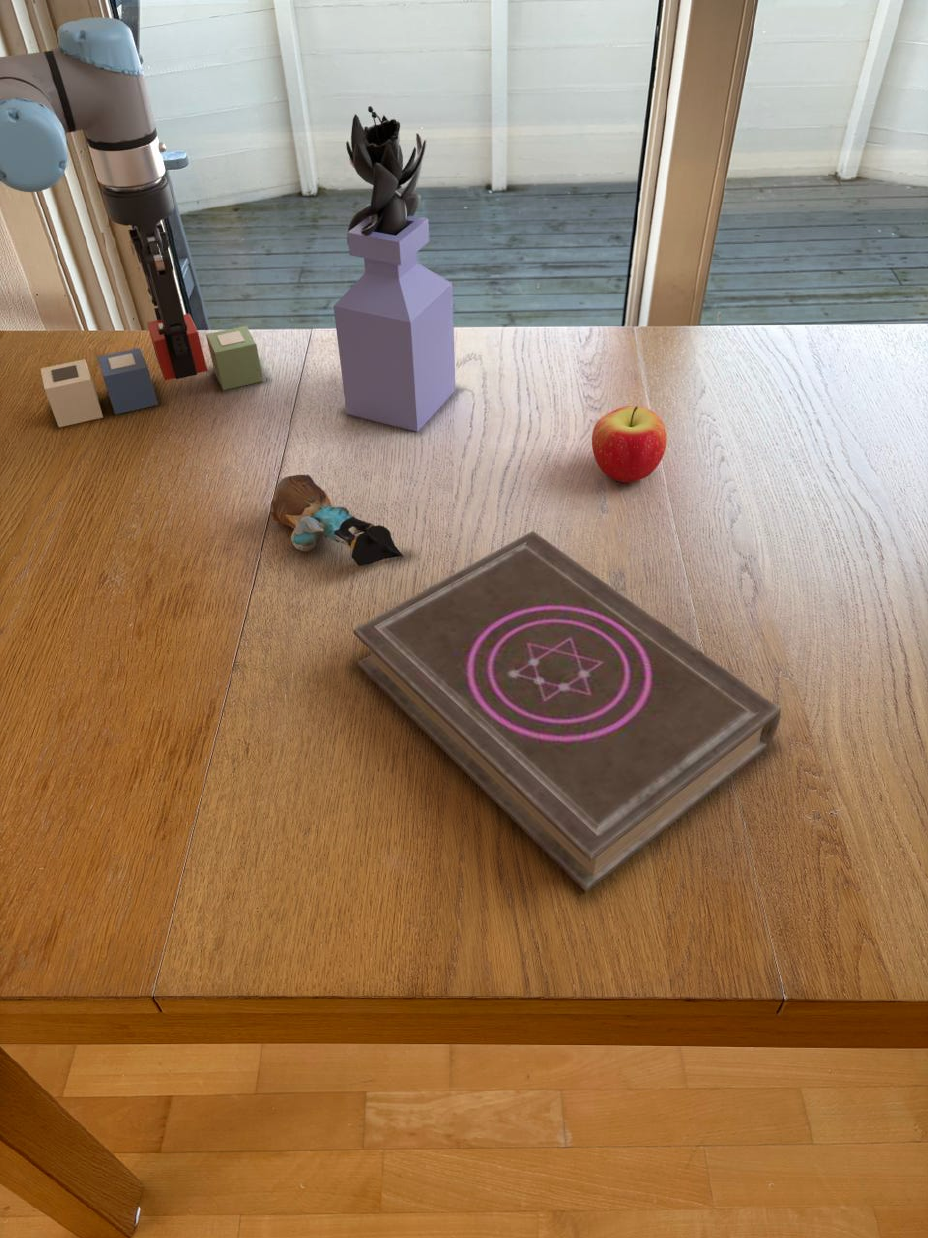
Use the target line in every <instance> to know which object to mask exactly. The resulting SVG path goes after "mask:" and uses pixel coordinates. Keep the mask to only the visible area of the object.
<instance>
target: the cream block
mask: <svg viewBox="0 0 928 1238" xmlns="http://www.w3.org/2000/svg"><path fill="white" fill-rule="evenodd" d="M40 373H41V378H42V384H43V390H44V392H45V395H46V398H47V400H48V403H49V406H50V408H51V410H52V413H53V416H54V419H55V421H56V424H57V427H58V428H63V427H68V426H72V425H76V424H81V423H84V422H89V421H94V420H99V419H102V418H104V415H103V412H102V408H101V404H100V399H99V396H98V393H97V391H96V388H95V385H94V382H93V379H92V376H91V373H90V370H89V367H88V364H87V361H86V359H80V360H79V359H78V360H74V361H69V362H64V363H60V364H56V365H51V366H46V367H45V366H44V367H41V368H40Z"/></svg>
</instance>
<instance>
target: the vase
mask: <svg viewBox="0 0 928 1238" xmlns="http://www.w3.org/2000/svg"><path fill="white" fill-rule="evenodd" d="M367 108H368V109H367V111H368V113H370V114H371V118H373V122H374V124H373V125H371V126H369V127H368V126H367V125H366V126H363V125H362V123H361V120H360V117H359V116H358V115H357V114H356V113H355V114H354V116H353V118H352V124H351V130H350V131H351V132H350V133H351V134H350V143H349V140H347V141H346V143H345V147H346V151H347V154H348V156H349V157H348V158H349V159H348V161H349V164H350V165H351V167H352V168H353V169H354V170H355V172H356V174H357V175H358V176H359V177H360V178H361V179H362V180H363V181H364V182H366V183H368V184H370V185H372V193H371V194H372V195H371V200H370V203H369V204H368V205H366V206H364V207H362V208H361V209H359V210H357V212H355V214H354V215H353V216H352V218H351V220H350V222H349V224H348V226H347V227H348V229H347V233H346V238H347V239H346V243H347V245H348V251H349V252H348V253H349V256H351V257H357V258H362V259H363V263H364V271H365V272H364V273H363V274H362V275H361V277H359V279H358V280H356V281H355V283H354V284H353V285H352V286H351V287H350V288H349V289H348V290H347V291H346V292H345V293H344V294H343V295H342V296H341V298H340V299H338V301H336V303H335V304H334V305H333V314H334V322H335V323H334V324H335V328H336V337H337V345H338V347H337V348H338V354H339V360H340V361H339V362H340V369H341V378H342V384H343V395H344V402H345V403H344V404H345V410H346V411H345V412H346V415H349V416H354V417H357V418H360V419H361V418H362V419H365V420H369V421H373V422H377V423H381V424H385V425H389V426H392V427H397V428H400V429H404V430H408V431H411V432H417V433H418V432H419V431H420V430H422V428H423V427H424V426H425V425H426V424H427V422H429V420H430V419H431V418H432V417H433V416H434V415H435V414H436V413H437V411H438V410H439V409H440V408H441V407H443V405H444V404H445V403H446V401H447V400H449V398H450V397H451V396H452V395H453V394H454V392H456V390H457V389H456V388H457V387H456V359H455V358H456V356H455V355H456V354H455V327H454V326H455V325H454V295H453V294H454V293H453V283H452V282H451V281H449V280H447V279H446V278H444V277H442V276H441V275H439V274H437V273H436V272H434V271H433V270H431V269H430V268H427V267H426V266H424V265H422V264H421V263H419V261H418V260H419V259H418V252H419V251H421V249H422V248H423V247H425V245H427V244H428V243H429V242H430V225H429V224H430V223H429V218H427V217H422V216H421V217H420V216H416V212H417V210H418V209H419V207H420V203H421V198H422V197H421V194H418V193H415V191H416V189H417V187H418V184H419V181H420V177H421V174H422V170H423V166H424V165H423V164H424V156H425V152H426V149H427V140H426V139H424V141H422V137H421V136H420V134H419V133H416V134H415V139H416V146H414V147H413V149H412V152H411V155H410V156H409V159H408V161H407V163H406V165H405V166H404V156H403V150H402V147H401V144H400V141H401V123H400V121H397V120H396V118H392V119H390V120H389V119H388V118H387V116H385V114H383V116H382V117H380V116H379V115H378V114H377V112H376V111H374V108H373V107H372V106H368V107H367ZM376 118H377V119H378V122H379V123H378V124H377V123H376ZM405 184H406V185H405ZM402 185H405V187H404V188H403V186H402ZM401 188H403V190H402V192H401V193H400V192H399V191H397V190H400V189H401Z"/></svg>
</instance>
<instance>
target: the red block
mask: <svg viewBox="0 0 928 1238" xmlns="http://www.w3.org/2000/svg"><path fill="white" fill-rule="evenodd" d="M183 316H184V320H185V323H186V324H187V335H188V339H189V343H190V347H191V351H192V355H193V359H194V363H195V367H196V371H197V374H201V373H205V372H208V367H207V363H206V359H205V355H204V351H203V346H202V342H201V338H200V334H199V331H198V328H197V326H196V324H195V322H194V320H193V318H192V316H191V314H190V313H186V314H185V313H183ZM146 325H147V328H148V331H149V336H150V339H151V343H152V346H153V349H154V353H155V357H156V360H157V363H158V366H159V369H160V371H161V374H162V376H163V380H164V381H169V380H174V379H176V377H175V374H174V370H173V367H172V363H171V359H170V355H169V352H168V348H167V344H166V340H165V337H164V334H162V335H159V332H158V329H161V328H163V323H162V320H161V319H160V320H157V319H156V320H150V321H147V322H146Z"/></svg>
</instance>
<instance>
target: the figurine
mask: <svg viewBox="0 0 928 1238" xmlns="http://www.w3.org/2000/svg"><path fill="white" fill-rule="evenodd" d="M269 509H270V510H269V511H270V512H269V513H270V518H271V520H273V521H274V522H276V523H277V524H281V525H286V526H287V525H288V526H289V527H290V528H292V529H293V531H292V532H291V535H290V541H291V544H292V545H293V546H294V548H295V549H297V550H298V551H302V552H309V551H311V550H312V549H314V548H315V547H316V546H317V543H318V540H319V537H324V538H329V539H332V540H333V541H335V542H336V543H341V544H345V545H347V546H348V547H349V549H350V550H351V556H350V558H351V559H352V560H353V562H354V564H355V566H356V567H364V566H368V565H371V564H374V563H377V562H380V561H383V560H388V559H394V558H395V559H396V558H405V555H403V553H402V552H401V551H400V550H399V548H398V547H397V546H396V544H395V542H394V539H393V537H392V533H391V531H390V530H389V529H388V528H387V527H385V526H384V525H380V524H377V525H375V524H373V523H372V522H367V521H364V520H361V519H359V518H357V517H355V516H354V515H352V514H350V511H349V509H347V507H345V506H336V507H335V506H332V503H331V500H330V498H329V497H328V494H327V492H326V491H325V490H323V488H321V487H320V486H319V485H317V484H316V483H315V480H314V479H313V478H312V477H311V475H309V474H295V475H294V474H293V475H289V476H285V477H284V478H282V479H281V480H280V481H279V482H278V484H277V486H276V488H275V490H274V493H273V497H272V499H271V502H270V506H269ZM357 534H358V535H357Z"/></svg>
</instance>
